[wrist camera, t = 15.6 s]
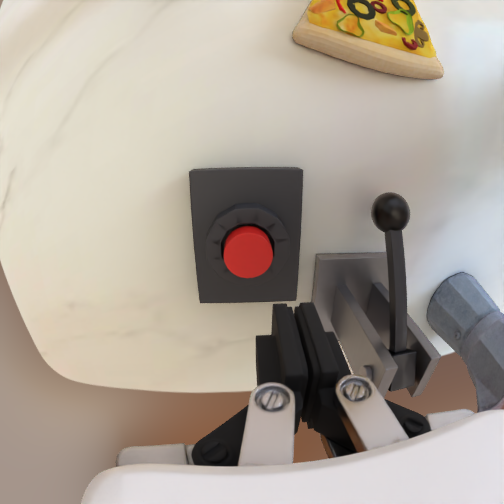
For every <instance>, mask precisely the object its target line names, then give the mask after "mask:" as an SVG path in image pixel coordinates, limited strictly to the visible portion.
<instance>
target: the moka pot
mask: <svg viewBox="0 0 504 504" xmlns="http://www.w3.org/2000/svg"><path fill="white" fill-rule="evenodd" d="M427 319H428V322H429V324H430V326H431V328H432V329H433V330H434V331H435V332H436V333H437V334H438V335H439V336H440V337H441V338H442V339H443V340H444V341H445V342H446V343H447V344H448V345H449V346H450V347H451V348H452V349H453V350H454V351H455V352H456V353H457V354H458V355H460V356H461V357H462V359H463V360H464V362H465V364H466V365H467V368H468V372H469V375H470V377H471V379H472V381H473V383H474V386H475V387H476V394H477V405H478V412H477V413H479V412H483V411H488V410H498V409H502V410H504V314H503V313H501V312H500V309H499V308H498V307H497V305H496V304H495V303H494V301H493V300H492V299H491V298H490V296H489V295H488V294H487V293H486V292H485V290H484V289H483V288H482V286H481V285H480V284H479V283H478V281H477V280H476V279H475V278H474V277H473V276H471V275H469V274H466V273H464V272H462V273H458V274H456V275H454V276H452V277H449V279H447V280H446V281H445V282H443V283H442V285H441V286H440V287H439V288H438V289H437V291H436V292H435V293H434V295H433V297H432V299H431V301H430V304H429V307H428V313H427Z"/></svg>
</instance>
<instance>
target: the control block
mask: <svg viewBox="0 0 504 504" xmlns="http://www.w3.org/2000/svg"><path fill="white" fill-rule="evenodd" d="M189 178H190V197H191V212H192V226H193V239H194V251H195V262H196V272H197V282H198V291H199V300H200V303H243V302H275V301H296V296H297V283H298V268H299V253H300V235H301V214H302V187H303V170H302V169H300V168H295V167H236V168H207V169H193V170H191V171H189ZM243 226H253V227H257V228H259V229H260V230H262V231H263V232H264V233H265V234H266V235H267V236H268V238H269V241H270V244H271V247H272V251H273V259H272V263H271V265H270V267H269V268H268V269H267V270H266V271H265V272H264V273H263V274H261V275H259V276H257V277H254V278H242V277H239V276H237V275H235V274H233V273H232V272H231V271H230V270H229V269H228V268H227V266H226V264H225V262H224V248H225V242H226V239H227V237H228V236H229V234H230V233H231V232H232V231H234V230H235V229H237V228H239V227H243Z"/></svg>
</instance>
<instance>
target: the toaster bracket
mask: <svg viewBox="0 0 504 504" xmlns="http://www.w3.org/2000/svg"><path fill="white" fill-rule="evenodd" d="M312 302H313V303H314V305H315V307H316V310H317V312H318V315H319V318H320V320H321V323H322V325H323V328H324V330H325V332H330V331H333V332H334V334H335V336H336V338H337V340H338V341H340V343H341V345H342V348H343V350H344V352H345V354H346V357H347V359H348V361H349V364H350V366H351V368H352V370H353V373H354V374H356V375H362V376H365V377H367V378H368V379H370V380H371V381H372V382H373V383H374V385H375V386H376V388H377V389H378V391H379V392H380V394H381V395H382V397H383V398H384V397H385V395H386V393H387V390H388V389H389V386H390V384H391V382H392V380H393V378H394V375H395V373H396V371H397V369H398V366H397V365H396V363H395V361H394V360H393V358H392V356H391V355H390V353H389V351H388V350H387V349H389V332H390V312H389V281H388V265H387V252H382V253H345V254H317V255H316V265H315V276H314V286H313V295H312ZM406 348H407V349H410V350H414V351H417V357H416V371H415V382H414V386H411V387H407V390H408V391H409V393H410V395H411V397H415V396H418V395H421V394H422V392H423V390H424V388H425V387H426V385H427V383H428V381H429V379H430V377H431V375H432V374H433V372H434V370H435V368H436V366H437V364H438V362H439V360H440V358H441V355H440V354H439V353H438V351H437V350H436V349H435V347H434V346H433V345H432V343H431V342H430V341H429V340H428V338H427V337H426V336H425V335H424V333H423V332H422V331H421V330H420V328H419V327H418V326H417V325H416V323H415V322H414V321H413V320H412V318H411V317H410V316H409V315H408V314H407V346H406Z"/></svg>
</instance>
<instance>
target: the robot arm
mask: <svg viewBox="0 0 504 504" xmlns="http://www.w3.org/2000/svg"><path fill="white" fill-rule="evenodd" d="M256 372H257V387H256V388H255V389H254V390H253V391H252V393H251V396H250V401H249V405H247V406H246V407H245V408H244V409H242V410H241V411H240V412H238V413H237V414H236V415H234V416H233V417H232V418H230V419H229V420H228V421H226V422H225V423H224V424H222V425H221V426H219V427H218V428H217V429H215V430H214V431H212V432H211V433H210V434H208V435H207V436H205V437H204V438H202V439H201V440H199V441H198V442H197V443H196V444H193V445H185V444H184V443H182V444H171V445H157V446H133V447H127V448H125V449H123V450H121V451H120V452H119V454H118V455H117V459H116V467H115V468H111V469H107V470H105V471H102V472H100V473H99V474H97V475H96V476H95V477H94V478H93V479H92V481H91V482H90V484H89V485H88V487H87V489H86V491H85V493H84V495H83V498H82V501H81V504H504V410H502V409H498V410H488V411H483V412H479V413H476V414H474V413H473V412H472V411H470V410H468V409H460V410H454V411H447V412H440V413H432V414H427V415H426V416H425V417H424V416H422V415H421V414H419V413H416V412H414V411H412V410H409V409H406V408H404V407H402V406H400V405H397V404H395V403H393V402H390V401H388V400H386V399H384V398H383V397H382V395H381V394H380V392H379V391H378V389H377V388H376V386H375V385H374V383H373V382H372V381H371V380H370V379H368V378H367V377H365V376H362V375H356V374H352V375H351V372H350V370H349V367H348V365H347V362H346V360H345V357H344V355H343V352H342V350H341V348H340V345H339V343H338V340H337V338H336V336H335V334H334V332H333V331H330V332H325V330H324V328H323V325H322V323H321V320H320V318H319V315H318V312H317V310H316V307H315V305H314V303H313V302H310V303H300V305H299V306H298V307H295V310H294V313H293V310H292V307H287V304H273V312H272V335H260V336H256ZM300 418H301V419H302V422H307V425H308V429H310V428H314V430H315V431H316V432H318V433H320V438H321V441H322V443H323V446H324V448H325V451H326V453H327V455H328V458H329V459H325V460H318V461H310V462H303V463H294V464H293V449H294V435H295V434H296V433H297V431H298V426H299V422H300Z"/></svg>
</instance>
